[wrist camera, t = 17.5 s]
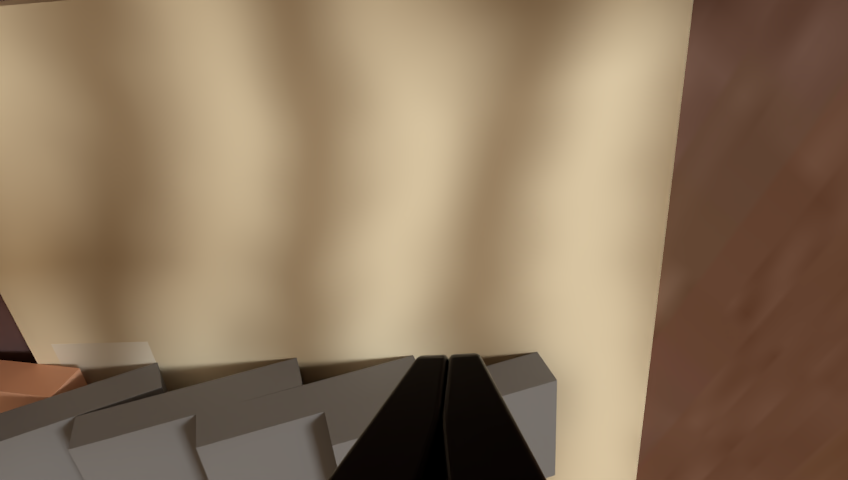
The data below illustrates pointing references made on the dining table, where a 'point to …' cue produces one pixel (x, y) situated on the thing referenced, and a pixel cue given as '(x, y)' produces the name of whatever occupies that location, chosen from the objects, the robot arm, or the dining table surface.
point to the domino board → (345, 190)
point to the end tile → (34, 382)
